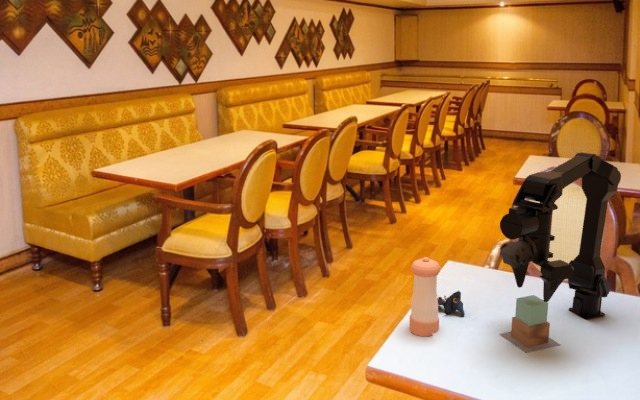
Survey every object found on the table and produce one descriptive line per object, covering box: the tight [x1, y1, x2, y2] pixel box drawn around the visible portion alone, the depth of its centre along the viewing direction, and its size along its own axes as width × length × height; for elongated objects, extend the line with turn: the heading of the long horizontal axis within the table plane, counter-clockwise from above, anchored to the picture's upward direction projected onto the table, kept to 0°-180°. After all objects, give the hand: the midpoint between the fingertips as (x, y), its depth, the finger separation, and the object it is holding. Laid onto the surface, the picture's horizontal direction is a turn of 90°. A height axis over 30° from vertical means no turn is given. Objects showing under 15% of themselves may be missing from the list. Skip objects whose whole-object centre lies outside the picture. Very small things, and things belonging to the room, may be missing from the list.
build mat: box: [498, 331, 562, 354], centre depth 145 cm, size 10×10×1 cm
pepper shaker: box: [408, 256, 441, 337], centre depth 149 cm, size 7×7×19 cm
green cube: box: [514, 294, 549, 326], centre depth 143 cm, size 5×5×5 cm
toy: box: [437, 290, 465, 318], centre depth 163 cm, size 8×7×15 cm
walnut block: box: [510, 316, 551, 347], centre depth 144 cm, size 6×6×5 cm
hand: (532, 294), depth 142 cm, fingers open, 9 cm apart
